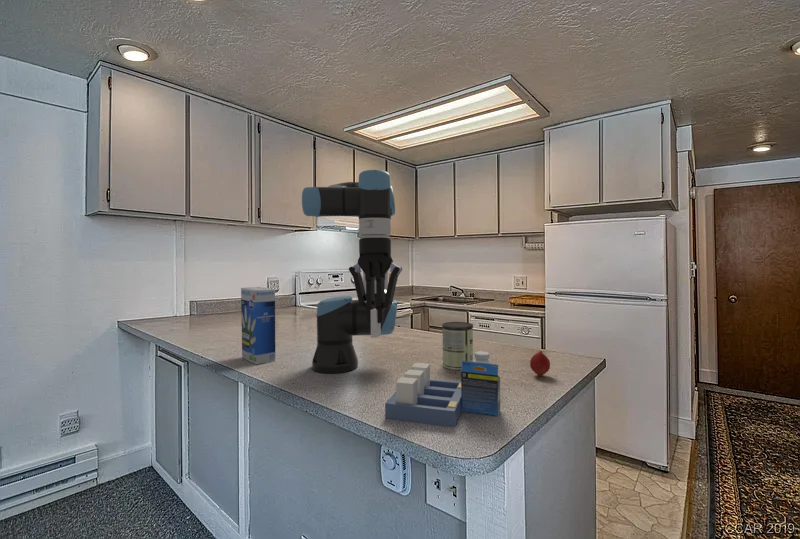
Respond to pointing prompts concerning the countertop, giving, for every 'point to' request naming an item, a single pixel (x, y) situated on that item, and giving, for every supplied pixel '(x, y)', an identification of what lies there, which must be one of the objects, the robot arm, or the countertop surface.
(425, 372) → the tab far
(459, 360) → the coffee can
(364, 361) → the countertop surface
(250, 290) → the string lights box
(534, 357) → the onion
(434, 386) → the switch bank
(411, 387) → the tab near
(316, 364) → the robot arm
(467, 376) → the label tape box
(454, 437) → the countertop surface
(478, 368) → the supplement bottle
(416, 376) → the tab middle
